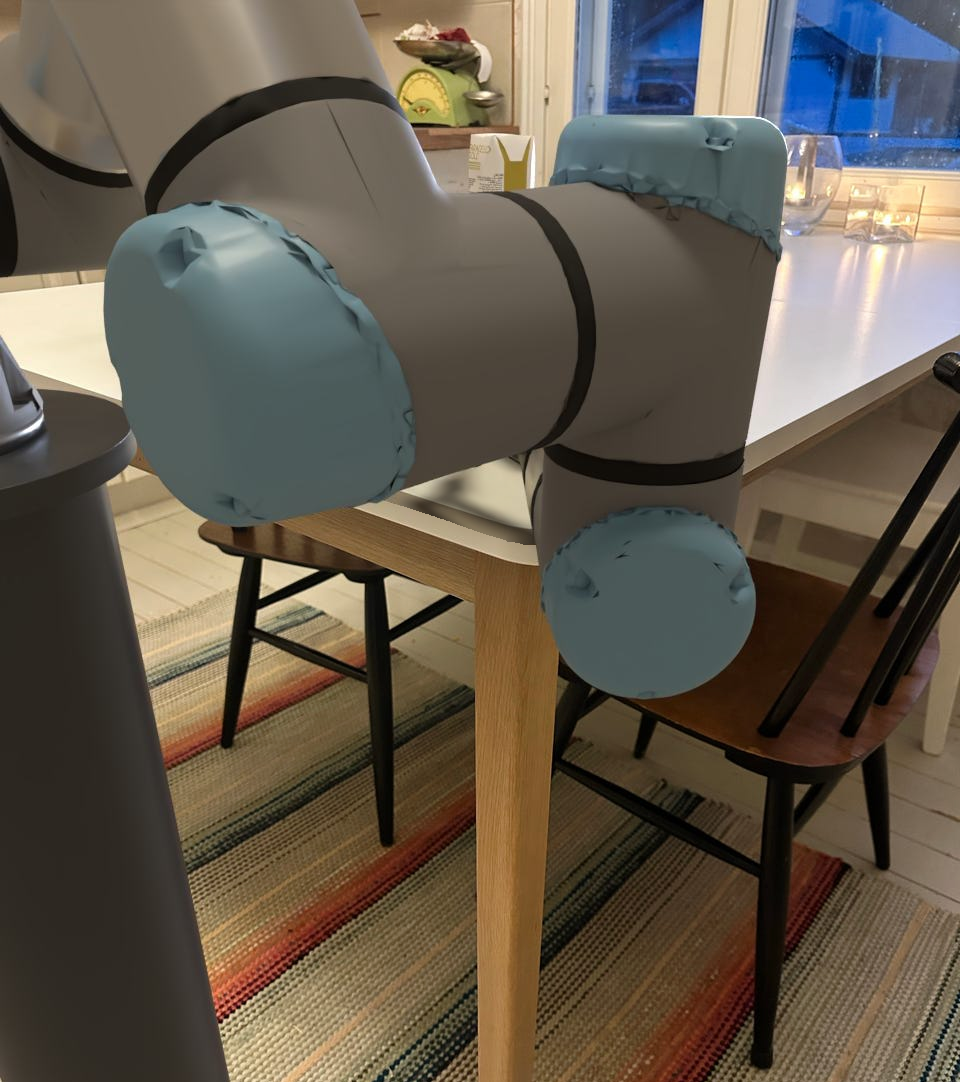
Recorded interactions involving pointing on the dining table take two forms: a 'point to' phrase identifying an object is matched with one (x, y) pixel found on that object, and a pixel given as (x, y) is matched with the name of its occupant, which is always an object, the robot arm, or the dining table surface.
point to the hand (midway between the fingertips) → (558, 369)
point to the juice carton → (501, 162)
